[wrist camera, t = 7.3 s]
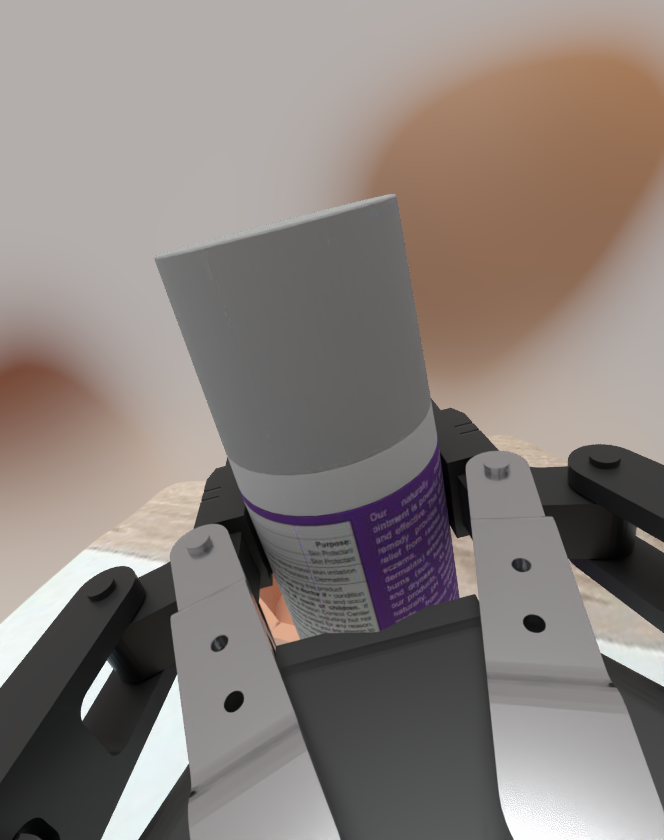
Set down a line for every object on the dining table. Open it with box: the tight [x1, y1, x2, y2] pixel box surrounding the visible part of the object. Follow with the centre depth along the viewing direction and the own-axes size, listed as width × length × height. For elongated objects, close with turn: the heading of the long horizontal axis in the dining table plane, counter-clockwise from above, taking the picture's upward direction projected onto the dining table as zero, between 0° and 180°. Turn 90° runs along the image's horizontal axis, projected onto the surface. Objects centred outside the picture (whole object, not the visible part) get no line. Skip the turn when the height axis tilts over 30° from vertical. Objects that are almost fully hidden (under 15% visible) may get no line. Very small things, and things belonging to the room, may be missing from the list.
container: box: [155, 194, 459, 640], centre depth 11 cm, size 5×5×15 cm
